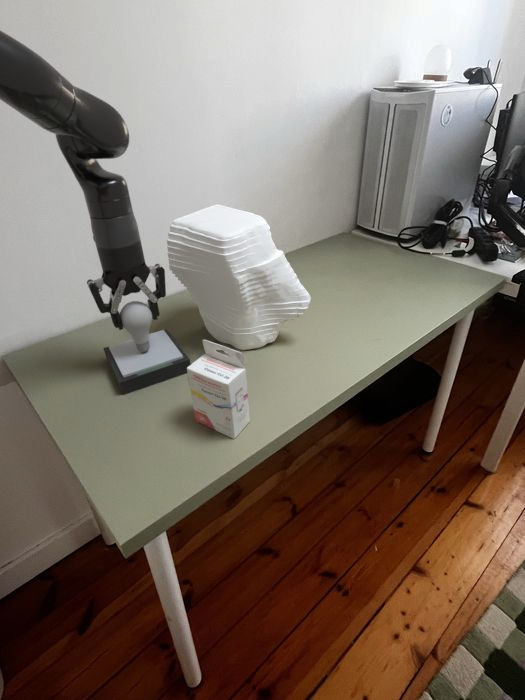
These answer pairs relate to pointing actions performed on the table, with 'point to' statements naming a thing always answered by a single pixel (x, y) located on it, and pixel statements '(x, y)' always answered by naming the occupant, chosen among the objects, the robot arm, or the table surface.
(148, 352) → the scale
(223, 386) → the ink cartridge box
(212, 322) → the white layered head sculpture
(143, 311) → the lightbulb
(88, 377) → the table surface
